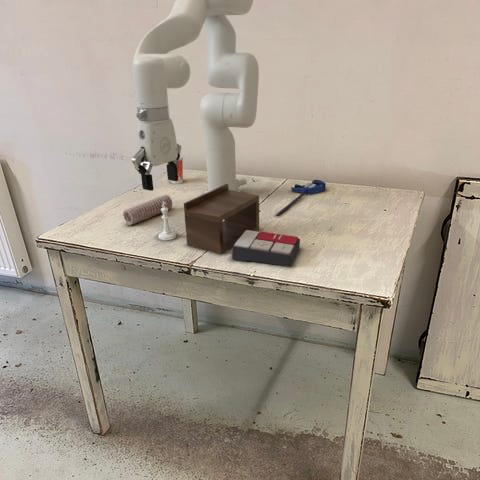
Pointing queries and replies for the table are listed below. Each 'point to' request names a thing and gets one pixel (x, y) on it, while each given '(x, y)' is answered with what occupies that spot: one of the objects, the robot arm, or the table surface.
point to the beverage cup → (179, 171)
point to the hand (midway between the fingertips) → (160, 184)
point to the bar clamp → (306, 191)
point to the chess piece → (166, 226)
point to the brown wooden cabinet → (220, 218)
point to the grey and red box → (266, 248)
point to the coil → (146, 209)
